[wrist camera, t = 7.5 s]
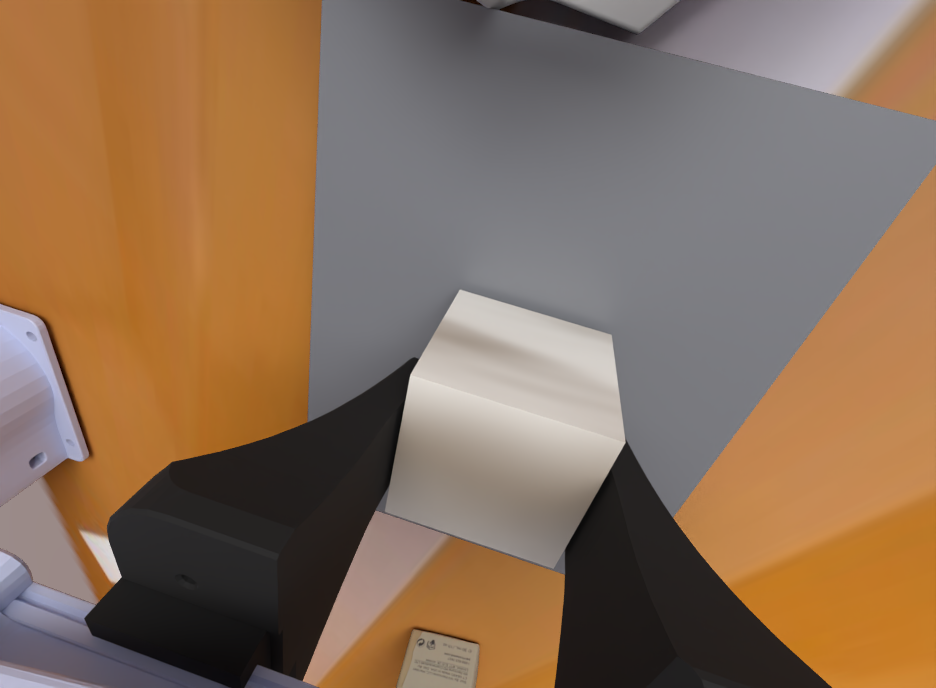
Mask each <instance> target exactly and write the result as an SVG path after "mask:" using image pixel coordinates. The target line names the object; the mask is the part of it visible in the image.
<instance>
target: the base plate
mask: <svg viewBox="0 0 936 688" xmlns="http://www.w3.org/2000/svg"><path fill="white" fill-rule="evenodd" d="M935 165H936V121H935V120H931V119H927V118H923V117H919V116H915V115H911V114H907V113H903V112H899V111H895V110H891V109H887V108H883V107H879V106H875V105H871V104H867V103H863V102H860V101H856V100H852V99H848V98H844V97H840V96H836V95H832V94H828V93H824V92H820V91H816V90H812V89H808V88H804V87H800V86H796V85H792V84H788V83H785V82H781V81H777V80H773V79H769V78H765V77H761V76H757V75H753V74H749V73H745V72H741V71H737V70H733V69H729V68H725V67H721V66H717V65H713V64H709V63H706V62H702V61H698V60H694V59H690V58H686V57H682V56H678V55H674V54H670V53H666V52H662V51H658V50H654V49H650V48H646V47H642V46H638V45H634V44H630V43H627V42H623V41H619V40H615V39H611V38H607V37H603V36H599V35H595V34H591V33H587V32H583V31H579V30H575V29H571V28H567V27H563V26H559V25H555V24H551V23H548V22H544V21H540V20H536V19H532V18H528V17H524V16H520V15H516V14H512V13H508V12H504V11H500V10H496V9H492V8H486V7H484V6H480V5H476V4H472V3H469V2H465V1H461V0H322V16H321V46H320V75H319V104H318V134H317V163H316V193H315V222H314V251H313V281H312V310H311V340H310V369H309V399H308V422H309V421H312V420H314V419H316V418H318V417H320V416H322V415H324V414H326V413H328V412H330V411H332V410H334V409H336V408H338V407H340V406H341V405H343V404H345V403H346V402H348V401H350V400H352V399H353V398H355V397H357V396H358V395H360V394H362V393H363V392H365V391H366V390H368V389H369V388H371V387H372V386H374V385H375V384H377V383H378V382H380V381H381V380H383V379H384V378H386V377H387V376H388V375H390V374H391V373H393V372H394V371H395V370H397V369H398V368H399V367H400V366H402V365H403V364H404V363H406V362H407V361H408V360H409V359H411V358H413V357H415V358H418V359H420V357H421V356H422V354H423V352H424V350H425V349H426V347H427V345H428V344H429V342H430V340H431V338H432V337H433V335H434V333H435V332H436V330H437V328H438V326H439V325H440V323H441V321H442V319H443V318H444V316H445V314H446V313H447V311H448V309H449V307H450V306H451V304H452V302H453V301H454V299H455V297H456V295H457V294H458V292H459V290H463V291H467V292H470V293H473V294H477V295H480V296H484V297H487V298H490V299H494V300H497V301H500V302H504V303H507V304H510V305H514V306H517V307H520V308H524V309H527V310H530V311H534V312H537V313H540V314H544V315H547V316H550V317H554V318H557V319H560V320H564V321H567V322H570V323H574V324H577V325H581V326H584V327H587V328H591V329H594V330H597V331H601V332H604V333H607V334H611V335H612V341H613V349H614V357H615V365H616V372H617V380H618V388H619V395H620V403H621V411H622V419H623V426H624V434H625V438H626V440H627V442H628V444H629V446H630V448H631V449H632V451H633V453H634V455H635V457H636V459H637V461H638V462H639V464H640V466H641V468H642V469H643V471H644V473H645V475H646V476H647V478H648V480H649V481H650V483H651V485H652V486H653V488H654V490H655V491H656V493H657V495H658V496H659V498H660V499H661V501H662V502H663V504H664V505H665V507H666V508H667V510H668V511H669V513H670V514H671V516H672V517H674V515H675V514H676V513H677V511H678V510H679V509H680V507H681V506H682V505H683V503H684V502H685V501H686V499H687V498H688V497H689V495H690V494H691V493H692V491H693V490H694V489H695V487H696V486H697V485H698V483H699V482H700V481H701V479H702V478H703V476H704V475H705V474H706V472H707V471H708V470H709V468H710V467H711V466H712V464H713V463H714V462H715V460H716V459H717V458H718V456H719V455H720V454H721V452H722V451H723V450H724V448H725V447H726V446H727V444H728V443H729V442H730V440H731V439H732V437H733V436H734V435H735V433H736V432H737V431H738V429H739V428H740V427H741V425H742V424H743V423H744V421H745V420H746V419H747V417H748V416H749V415H750V413H751V412H752V411H753V409H754V408H755V407H756V405H757V404H758V403H759V401H760V400H761V399H762V397H763V396H764V394H765V393H766V392H767V390H768V389H769V388H770V386H771V385H772V384H773V382H774V381H775V380H776V378H777V377H778V376H779V374H780V373H781V372H782V370H783V369H784V368H785V366H786V365H787V364H788V362H789V361H790V360H791V358H792V357H793V355H794V354H795V353H796V351H797V350H798V349H799V347H800V346H801V345H802V343H803V342H804V341H805V339H806V338H807V337H808V335H809V334H810V333H811V331H812V330H813V329H814V327H815V326H816V325H817V323H818V322H819V321H820V319H821V318H822V316H823V315H824V314H825V312H826V311H827V310H828V308H829V307H830V306H831V304H832V303H833V302H834V300H835V299H836V298H837V296H838V295H839V294H840V292H841V291H842V290H843V288H844V287H845V286H846V284H847V283H848V282H849V280H850V279H851V278H852V276H853V275H854V273H855V272H856V271H857V269H858V268H859V267H860V265H861V264H862V263H863V261H864V260H865V259H866V257H867V256H868V255H869V253H870V252H871V251H872V249H873V248H874V247H875V245H876V244H877V243H878V241H879V240H880V239H881V237H882V236H883V234H884V233H885V232H886V230H887V229H888V228H889V226H890V225H891V224H892V222H893V221H894V220H895V218H896V217H897V216H898V214H899V213H900V212H901V210H902V209H903V208H904V206H905V205H906V204H907V202H908V201H909V200H910V198H911V197H912V196H913V194H914V193H915V191H916V190H917V189H918V187H919V186H920V185H921V183H922V182H923V181H924V179H925V178H926V177H927V175H928V174H929V173H930V171H931V170H932V169H933V167H934V166H935ZM389 486H390V485H389ZM388 492H389V487H388V489H387V491H386V492H385V494H384V496H383V498H382V499H381V501H380V503H379V505H378V507H377V508H376V511H379V512H382V513H385V514H388V515H391V516H394V517H397V518H400V519H403V520H406V521H409V522H412V523H415V524H418V525H421V526H423V527H426V528H429V529H432V530H435V531H438V532H441V533H444V534H447V535H450V536H453V537H456V538H459V539H462V540H465V541H468V542H471V543H473V544H476V545H479V546H482V547H485V548H488V549H491V550H494V551H497V552H500V553H503V554H506V555H509V556H512V557H515V558H518V559H521V560H523V561H526V562H529V563H532V564H535V565H538V566H541V567H544V568H547V569H550V570H553V571H556V572H559V573H562V574H565V550H564V552H563V553H562V555H561V557H560V559H559V560H558V562H557V564H556V566H555V567H554V569H552V568H549V567H546V566H543V565H540V564H538V563H535V562H532V561H529V560H526V559H523V558H520V557H517V556H514V555H511V554H508V553H505V552H502V551H499V550H496V549H493V548H490V547H487V546H484V545H481V544H478V543H475V542H472V541H469V540H466V539H464V538H461V537H458V536H455V535H452V534H449V533H446V532H443V531H440V530H437V529H434V528H431V527H428V526H425V525H422V524H419V523H416V522H413V521H410V520H407V519H404V518H401V517H398V516H395V515H392V514H390V513H387V512H385V508H386V502H387V497H388Z"/></svg>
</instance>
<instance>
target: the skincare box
mask: <svg viewBox="0 0 936 688" xmlns="http://www.w3.org/2000/svg"><path fill="white" fill-rule="evenodd" d="M478 663H479V645H478V644H475V643H470V642H466V641H463V640H460V639H456V638H452V637H448V636H444V635H440V634H436V633H432V632H426V631H421V630H416V629H413V630H412V633H411V636H410V640H409V643H408V646H407V650H406V654H405V657H404V661H403V664H402V668H401V671H400V675H399V678H398V682H397V685H396V688H475V687H476V680H477V673H478Z"/></svg>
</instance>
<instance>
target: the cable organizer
mask: <svg viewBox="0 0 936 688" xmlns="http://www.w3.org/2000/svg"><path fill="white" fill-rule="evenodd" d="M477 1H478V2H479V3H481V4H482V5H483V6H485V7H486V8H492V9H496V10H499V9H501V8H504V7H506V6H508V5H511V4H514V3H517V2H520V1H525V0H477ZM550 1H554V2H557V3H560V4H562V5H565V6H567V7H570V8H572V9H575V10H577V11H580V12H582V13H585V14H587V15H590V16H592V17H595V18H597V19H600V20H602V21H605V22H607V23H610V24H612V25H615V26H617V27H620V28H622V29H625V30H627V31H630V32H632V33H635V34H640V33H641V32H642V31H644V30H645V29H646V28H647V27H649V26H650V25H651V24H652V23H653V22H655V21H656V20H657V19H658V18H660V17H661V16H662V15H663V14H665V13H666V12H667V11H668V10H669V9H671V8H672V7H673V6H674V5H676V4H677V3H678V2H679V1H681V0H550Z"/></svg>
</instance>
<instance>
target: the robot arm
mask: <svg viewBox="0 0 936 688" xmlns="http://www.w3.org/2000/svg"><path fill="white" fill-rule="evenodd" d="M418 361H419V359H418V358H415V357H413V358H411V359H409V360H408V361H407V362H406V363H404V364H403V365H402V366H400V367H399V368H398V369H397V370H395V371H394V372H393V373H391V374H390V375H388V376H387V377H386V378H384V379H383V380H381V381H380V382H378V383H377V384H375V385H374V386H372V387H371V388H369V389H368V390H366V391H365V392H363V393H362V394H360V395H358V396H357V397H355V398H353V399H352V400H350V401H348V402H346V403H345V404H343V405H341V406H340V407H338V408H336V409H334V410H332V411H330V412H328V413H326V414H324V415H322V416H320V417H318V418H316V419H314V420H312V421H309V422H307V423H305V424H302V425H300V426H298V427H295V428H293V429H290V430H288V431H285V432H282V433H280V434H277V435H274V436H272V437H269V438H266V439H262V440H259V441H256V442H253V443H250V444H246V445H243V446H239V447H236V448H232V449H228V450H224V451H221V452H216V453H212V454H207V455H203V456H198V457H194V458H189V459H185V460H179V461H174V462H172V463H170V464H169V465H168V466H167V467H166V468H164V469H163V470H162V471H160V472H159V473H158V474H157V475H155V476H154V477H153V478H152V479H151V480H150V481H149V482H147V483H146V484H145V485H144V486H143V487H142V488H141V489H140V490H139V491H138V492H137V493H136V494H135V495H133V496H132V497H131V498H130V499H129V500H128V501H127V502H126V503H125V504H124V505H123V506H122V507H121V508H119V509H118V510H117V511H116V512H115V513H114V514H113V515H112V516H111V517H110V519H109V522H108V525H107V532H108V538H109V543H110V545H111V548H112V551H113V554H114V557H115V559H116V562H117V565H118V568H119V571H120V573H121V576H122V578H121V579H120V580H119V581H118V582H117V583H116V584H115V585H114V586H113V587H112V589H111V590H110V591H109V592H108V593H107V594H106V595H105V596H104V597H103V598H102V599H101V600H100V601H99V603H98V604H97V605H96V604H93V603H90V602H87V601H85V600H82V599H79V598H77V597H74V596H71V595H69V594H66V593H63V592H61V591H58V590H55V589H53V588H50V587H47V586H44V585H42V584H39V583H36V582H34V581H33V578H32V574H31V571H30V570H29V568H28V566H27V565H26V564H25V562H24V561H23V560H21V559H20V558H19V557H17V556H16V555H14V554H12V553H10V552H8V551H6V550H3V549H1V548H0V688H319V687H316V686H313V685H311V684H308V683H305V682H303V679H304V676H305V674H306V671H307V669H308V666H309V664H310V661H311V659H312V656H313V654H314V651H315V649H316V646H317V644H318V641H319V639H320V636H321V634H322V632H323V629H324V627H325V624H326V622H327V619H328V617H329V615H330V612H331V610H332V607H333V605H334V603H335V600H336V598H337V595H338V593H339V591H340V588H341V586H342V584H343V581H344V579H345V577H346V574H347V572H348V570H349V567H350V565H351V563H352V560H353V558H354V556H355V553H356V551H357V549H358V546H359V544H360V542H361V540H362V537H363V535H364V533H365V530H366V528H367V526H368V524H369V522H370V520H371V518H372V516H373V514H374V512H375V510H376V508H377V507H378V505H379V503H380V501H381V499H382V498H383V496H384V494H385V492H386V491H387V489H388V487H389V485H390V481H391V475H392V470H393V465H394V459H395V454H396V449H397V443H398V438H399V433H400V427H401V422H402V417H403V411H404V406H405V401H406V395H407V390H408V385H409V379H410V375H411V373H412V371H413V369H414V368H415V366H416V364H417V362H418ZM625 442H626V443H625V444H624V446H623V448H622V450H621V452H620V453H619V455H618V457H617V459H616V460H615V462H614V464H613V466H612V467H611V469H610V471H609V473H608V474H607V476H606V478H605V480H604V481H603V483H602V485H601V487H600V488H599V490H598V492H597V494H596V495H595V497H594V499H593V501H592V502H591V504H590V506H589V508H588V509H587V511H586V513H585V515H584V516H583V518H582V520H581V522H580V523H579V525H578V527H577V529H576V531H575V532H574V534H573V536H572V538H571V539H570V541H569V543H568V545H567V546H566V548H565V592H564V604H563V615H562V625H561V635H560V644H559V654H558V663H557V672H556V680H555V688H832V687H831V686H830V685H829V684H827V683H826V682H825V681H824V680H823V679H822V678H821V677H820V676H819V675H818V674H816V673H815V672H814V671H813V670H812V669H811V668H810V667H809V666H808V665H806V664H805V663H804V662H803V661H802V660H801V659H800V658H799V657H798V656H797V655H795V654H794V653H793V652H792V651H791V650H790V649H789V648H788V647H787V646H786V645H784V644H783V643H782V642H781V641H780V640H779V639H778V638H777V637H776V636H775V635H774V634H773V633H772V632H771V631H770V630H769V629H768V628H767V627H766V626H765V625H764V624H763V623H762V622H761V621H760V620H759V619H758V618H757V617H756V616H755V615H754V614H753V613H752V612H751V611H750V610H749V609H748V608H747V607H746V606H745V605H744V604H743V603H742V601H741V600H740V599H739V598H738V597H737V596H736V595H735V594H734V593H733V592H732V591H731V590H730V589H729V587H728V586H727V585H726V584H725V583H724V582H723V581H722V579H721V578H720V577H719V576H718V575H717V574H716V573H715V571H714V570H713V569H712V568H711V567H710V566H709V564H708V563H707V562H706V561H705V560H704V558H703V557H702V556H701V555H700V553H699V552H698V551H697V550H696V548H695V547H694V546H693V544H692V543H691V542H690V540H689V539H688V538H687V537H686V535H685V534H684V533H683V531H682V530H681V529H680V527H679V526H678V524H677V523H676V522H675V520H674V519H673V517H672V516H671V514H670V513H669V511H668V510H667V508H666V507H665V505H664V504H663V502H662V501H661V499H660V498H659V496H658V495H657V493H656V491H655V490H654V488H653V486H652V485H651V483H650V481H649V480H648V478H647V476H646V475H645V473H644V471H643V469H642V468H641V466H640V464H639V462H638V461H637V459H636V457H635V455H634V453H633V451H632V449H631V448H630V446H629V444H628V442H627V440H626V438H625ZM88 457H89V452H88V449H87V446H86V443H85V440H84V437H83V434H82V431H81V428H80V425H79V423H78V420H77V417H76V414H75V411H74V408H73V405H72V402H71V399H70V396H69V393H68V390H67V387H66V384H65V381H64V378H63V375H62V372H61V369H60V366H59V364H58V361H57V358H56V355H55V352H54V349H53V346H52V343H51V340H50V337H49V334H48V331H47V328H46V326H45V324H44V322H43V321H42V320H41V319H40V318H39V317H37V316H35V315H32V314H29V313H26V312H23V311H20V310H17V309H14V308H11V307H8V306H4V305H1V304H0V507H1V506H2V505H4V504H5V503H6V502H8V501H9V500H11V499H12V498H13V497H15V496H16V495H17V494H19V493H20V492H21V491H23V490H24V489H26V488H27V487H28V486H30V485H31V484H32V483H34V482H35V481H37V480H38V479H39V478H41V477H42V476H44V475H45V474H46V473H48V472H49V471H50V470H52V469H53V468H54V467H56V466H57V465H59V464H60V463H61V462H63V461H64V460H65V459H67V458H70V459H73V460H76V461H84V460H85V459H86V458H88Z"/></svg>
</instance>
